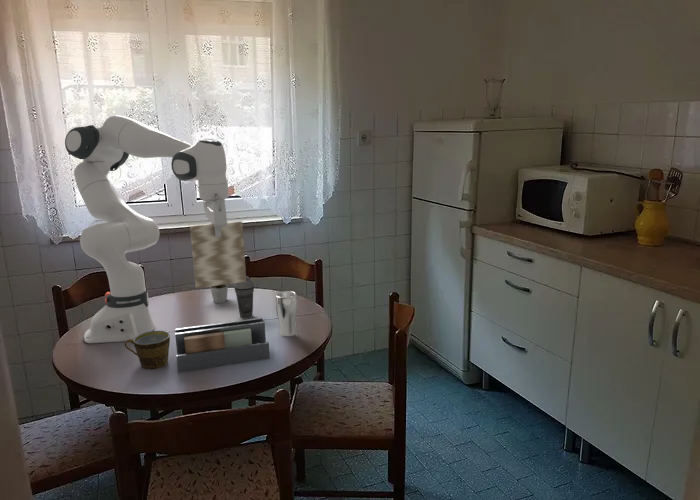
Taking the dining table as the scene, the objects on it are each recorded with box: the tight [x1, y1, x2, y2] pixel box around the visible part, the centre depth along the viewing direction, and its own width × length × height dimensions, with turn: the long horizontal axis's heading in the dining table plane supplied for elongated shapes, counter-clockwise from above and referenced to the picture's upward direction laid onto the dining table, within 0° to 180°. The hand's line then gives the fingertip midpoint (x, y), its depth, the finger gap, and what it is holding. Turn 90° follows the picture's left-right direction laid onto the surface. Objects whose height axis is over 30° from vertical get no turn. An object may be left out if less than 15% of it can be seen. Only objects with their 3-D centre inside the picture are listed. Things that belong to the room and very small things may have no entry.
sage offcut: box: [224, 328, 252, 348], centre depth 156 cm, size 9×2×8 cm, turn 108°
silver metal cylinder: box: [275, 290, 298, 338], centre depth 172 cm, size 7×7×15 cm
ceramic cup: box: [124, 330, 171, 371], centre depth 152 cm, size 13×10×10 cm
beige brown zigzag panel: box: [189, 220, 247, 289], centre depth 167 cm, size 16×2×20 cm, turn 113°
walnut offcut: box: [184, 332, 225, 354], centre depth 151 cm, size 11×2×9 cm, turn 108°
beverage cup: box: [233, 275, 255, 320], centre depth 191 cm, size 7×7×20 cm
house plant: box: [209, 284, 229, 304], centre depth 208 cm, size 14×14×16 cm
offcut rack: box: [174, 317, 271, 373], centre depth 155 cm, size 26×11×10 cm, turn 108°
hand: (217, 235), depth 165 cm, fingers closed on beige brown zigzag panel, 1 cm apart
